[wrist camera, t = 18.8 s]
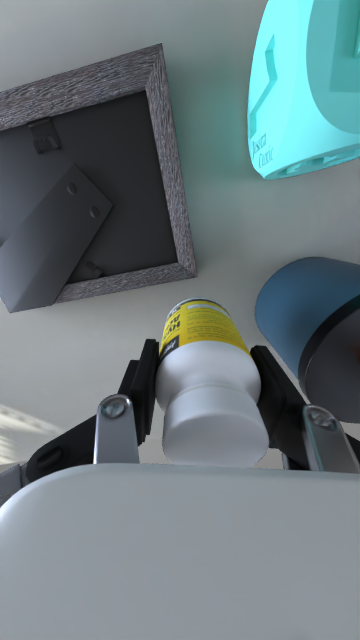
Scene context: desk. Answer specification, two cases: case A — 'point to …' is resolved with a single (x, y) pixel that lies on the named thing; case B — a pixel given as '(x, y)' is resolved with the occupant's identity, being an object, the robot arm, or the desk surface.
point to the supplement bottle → (208, 389)
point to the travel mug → (317, 330)
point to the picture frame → (91, 184)
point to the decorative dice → (305, 87)
